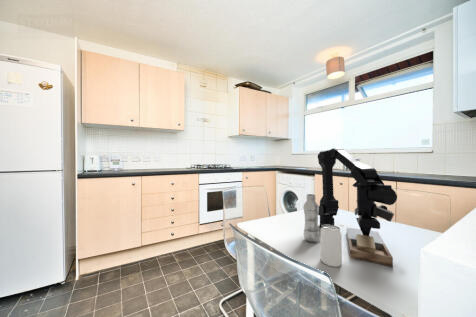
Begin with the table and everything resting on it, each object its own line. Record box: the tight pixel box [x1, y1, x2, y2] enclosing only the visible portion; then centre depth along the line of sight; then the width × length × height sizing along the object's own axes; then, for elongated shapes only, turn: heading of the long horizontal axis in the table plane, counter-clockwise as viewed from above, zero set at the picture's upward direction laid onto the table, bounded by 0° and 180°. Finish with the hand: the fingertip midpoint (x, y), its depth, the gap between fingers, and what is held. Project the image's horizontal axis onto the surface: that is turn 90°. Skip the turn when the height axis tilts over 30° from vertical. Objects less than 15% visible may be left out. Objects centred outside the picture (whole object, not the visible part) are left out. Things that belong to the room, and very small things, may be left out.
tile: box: [356, 234, 375, 253], centre depth 71 cm, size 6×6×2 cm
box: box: [347, 239, 394, 267], centre depth 69 cm, size 12×11×3 cm
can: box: [320, 224, 343, 268], centre depth 64 cm, size 6×6×12 cm
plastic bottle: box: [303, 193, 320, 243], centre depth 81 cm, size 6×7×20 cm
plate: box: [346, 227, 386, 250], centre depth 80 cm, size 12×14×3 cm
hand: (366, 238), depth 74 cm, fingers closed
